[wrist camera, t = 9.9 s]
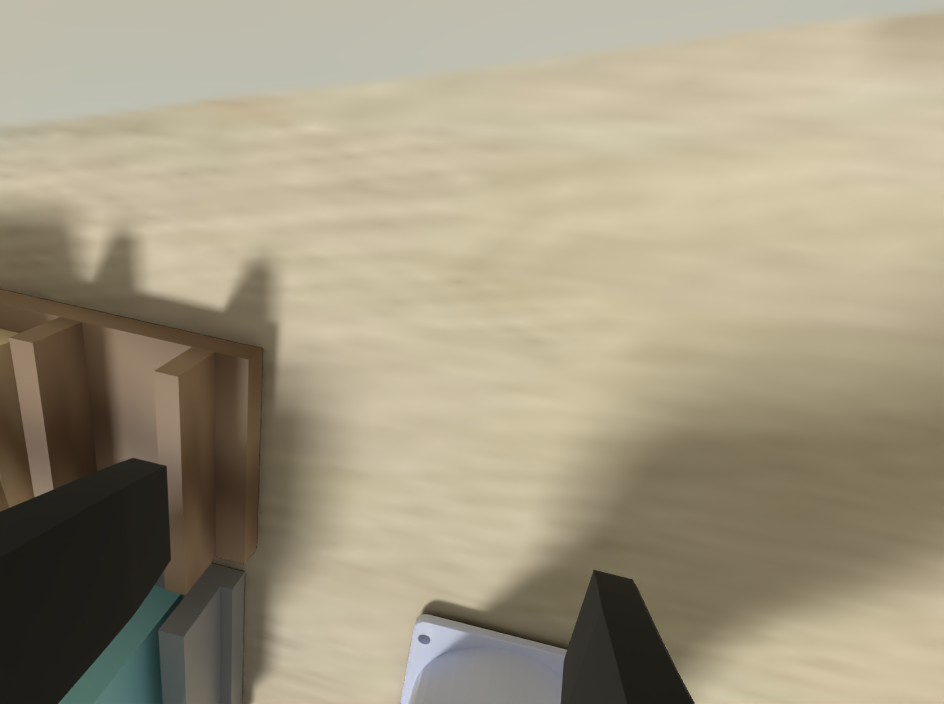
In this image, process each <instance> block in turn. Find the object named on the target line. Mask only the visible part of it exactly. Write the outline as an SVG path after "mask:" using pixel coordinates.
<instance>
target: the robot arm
mask: <svg viewBox="0 0 944 704" xmlns="http://www.w3.org/2000/svg"><path fill="white" fill-rule="evenodd" d="M170 561H171V548H170V526H169V504H168V482H167V466H165V465H161V464H157V463H153V462H149V461H145V460H140V459H136V458H131V459H128V460H125V461H122V462H119V463H117V464H114V465H112V466H109V467H106V468H104V469H101V470H99V471H96V472H94V473H92V474H89V475H87V476H84V477H82V478H80V479H77V480H75V481H72V482H70V483H68V484H65V485H63V486H60V487H58V488H56V489H53V490H51V491H49V492H46V493H44V494H41V495H39V496H37V497H34V498H32V499H29V500H27V501H25V502H22V503H20V504H17V505H15V506H13V507H10V508H8V509H5V510H3V511H0V704H58V703H59V702H60V701H61V700H62V699H63V698H64V696H65V695H66V694H67V693H68V692H69V691H70V690H71V688H72V687H73V686H74V685H75V684H76V683H77V681H78V680H79V679H80V678H81V677H82V676H83V675H84V673H85V672H86V671H87V670H88V669H89V668H90V666H91V665H92V664H93V663H94V662H95V661H96V659H97V658H98V657H99V656H100V655H101V654H102V652H103V651H104V650H105V649H106V648H107V647H108V645H109V644H110V643H111V642H112V641H113V639H114V638H115V637H116V636H117V635H118V634H119V632H120V631H121V630H122V629H123V628H124V626H125V625H126V624H127V623H128V622H129V620H130V619H131V618H132V617H133V616H134V614H135V613H136V611H137V610H138V608H139V607H140V606H141V604H142V603H143V601H144V600H145V598H146V597H147V596H148V594H149V593H150V591H151V590H152V588H153V587H154V585H155V584H156V582H157V581H158V579H159V578H160V576H161V574H162V573H163V571H164V570H165V568H166V567H167V565H168V564H169V562H170ZM424 635H427V636H424ZM400 704H695V703H694V701H693V699H692V697H691V696H690V694H689V692H688V690H687V688H686V686H685V684H684V683H683V681H682V679H681V677H680V675H679V673H678V671H677V669H676V667H675V665H674V663H673V661H672V659H671V657H670V655H669V653H668V651H667V649H666V647H665V645H664V643H663V641H662V639H661V637H660V635H659V633H658V631H657V629H656V626H655V624H654V622H653V620H652V618H651V616H650V614H649V612H648V609H647V607H646V605H645V603H644V601H643V599H642V597H641V594H640V592H639V590H638V588H637V586H636V584H635V583H634V581H633V580H632V579H628V578H624V577H620V576H616V575H612V574H608V573H604V572H600V571H596V570H594V571H593V574H592V577H591V580H590V583H589V586H588V589H587V592H586V595H585V598H584V601H583V604H582V607H581V610H580V613H579V616H578V619H577V622H576V625H575V628H574V631H573V634H572V637H571V640H570V643H569V646H568V649H567V650H566V649H562V648H558V647H554V646H550V645H547V644H543V643H539V642H535V641H531V640H527V639H523V638H519V637H515V636H511V635H507V634H503V633H499V632H495V631H492V630H488V629H484V628H480V627H476V626H472V625H468V624H464V623H460V622H456V621H452V620H448V619H444V618H440V617H437V616H433V615H427V614H424V615H420V616H419V617H417V619H416V622H415V625H414V630H413V636H412V641H411V647H410V652H409V658H408V663H407V669H406V674H405V680H404V685H403V691H402V696H401V702H400Z"/></svg>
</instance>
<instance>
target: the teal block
mask: <svg viewBox="0 0 944 704" xmlns="http://www.w3.org/2000/svg"><path fill="white" fill-rule="evenodd" d="M181 601H182V594H179V593H175V592H171V591H167V590H165V588H162V587H158V586H154V587H153V588H152V590H151V591H150V593H149V594H148V596H147V597H146V598H145V600H144V601H143V603H142V604H141V606H140V607H139V608H138V610H137V611H136V613H135V614H134V616H133V617H132V618H131V619H130V620H129V622H128V623H127V624H126V625H125V626H124V628H123V629H122V630H121V631H120V632H119V634H118V635H117V636H116V637H115V638H114V639H113V641H112V642H111V643H110V644H109V645H108V647H107V648H106V649H105V650H104V651H103V652H102V654H101V655H100V656H99V657H98V658H97V659H96V661H95V662H94V663H93V664H92V665H91V666H90V668H89V669H88V670H87V671H86V672H85V673H84V675H83V676H82V677H81V678H80V679H79V680H78V681H77V683H76V684H75V685H74V686H73V687H72V688H71V690H70V691H69V692H68V693H67V694H66V695H65V696H64V698H63V699H62V700H61V701H60V702H59V703H58V704H163V700H162V684H161V668H160V651H159V635H158V630H159V629H160V627H161V626H162V625H163V624H164V622H165V621H166V620H167V619H168V617H169V616H170V615H171V613H172V612H173V611H174V610H175V608H176V607H177V606H178V605H179V603H180V602H181Z"/></svg>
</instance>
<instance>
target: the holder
mask: <svg viewBox="0 0 944 704" xmlns="http://www.w3.org/2000/svg"><path fill="white" fill-rule="evenodd" d="M244 584H245V572H243V571H240V570H236V569H232V568H228V567H224V566H220V565H216V564H212V563H211V564H210V565H209V566H208V568H207V569H206V570H205V571H204V573H203V574H202V575H201V577H200V578H199V579H198V580H197V582H196V583H195V584H194V585H193V587H192V588H191V589H190V590H189V592H188V593H187V594H186V595H183V594H182V601H181V602H180V603H179V605H178V606H177V607H176V608H175V610H174V611H173V612H172V613H171V615H170V616H169V617H168V619H167V620H166V621H165V622H164V624H163V625H162V626H161V627H160V629H159V630H158V635H159V651H160V668H161V684H162V700H163V704H242V683H243V634H244ZM154 586H158V587H162V588H165V577H164V571H163V573H162V574H161V576H160V578H159V579H158V581H157V582H156V584H155V585H154Z"/></svg>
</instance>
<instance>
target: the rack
mask: <svg viewBox="0 0 944 704" xmlns="http://www.w3.org/2000/svg"><path fill="white" fill-rule="evenodd" d="M0 329H3V330H7V331H12V332H16V333H19V334H16V335H14V336H12V337H9V340H10V347H11V353H12V359H13V366H14V372H15V378H16V385H17V391H18V397H19V403H20V410H21V416H22V422H23V429H24V435H25V441H26V448H27V454H28V460H29V467H30V473H31V479H32V485H33V492H34V497H37V496H39V495H41V494H44V493H46V492H49V491H51V490H53V489H56V488H58V487H60V486H63V485H65V484H68V483H70V482H72V481H75V480H77V479H80V478H82V477H84V476H87V475H89V474H92V473H94V472H96V471H99V470H101V469H104V468H106V467H109V466H112V465H114V464H117V463H119V462H122V461H125V460H128V459H131V458H136V459H140V460H145V461H149V462H153V463H157V464H161V465H165V466H167V482H168V504H169V526H170V548H171V561H170V562H169V564H168V565H167V567H166V568H165V570H164V577H165V590H167V591H171V592H175V593H179V594H183V595H186V594H187V593H188V592H189V590H190V589H191V588H192V587H193V585H194V584H195V583H196V582H197V580H198V579H199V578H200V577H201V575H202V574H203V573H204V571H205V570H206V569H207V568H208V566H209V565H210V564H211V563H212V561H213V560H214V559H215V558H216V557H217V558H221V559H225V560H229V561H233V562H237V563H241V564H245V563H246V562H247V560H248V559H249V557H250V556H251V555H252V553H253V552H254V550H255V549H256V548H257V525H258V492H259V459H260V426H261V393H262V360H263V349H262V348H258V347H254V346H249V345H245V344H240V343H236V342H231V341H227V340H223V339H218V338H214V337H209V336H205V335H200V334H196V333H192V332H187V331H183V330H178V329H174V328H169V327H165V326H161V325H156V324H152V323H147V322H143V321H138V320H134V319H129V318H125V317H121V316H116V315H112V314H107V313H103V312H98V311H94V310H90V309H85V308H81V307H76V306H72V305H67V304H63V303H59V302H54V301H50V300H45V299H41V298H36V297H32V296H28V295H23V294H19V293H14V292H10V291H5V290H1V289H0Z"/></svg>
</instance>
